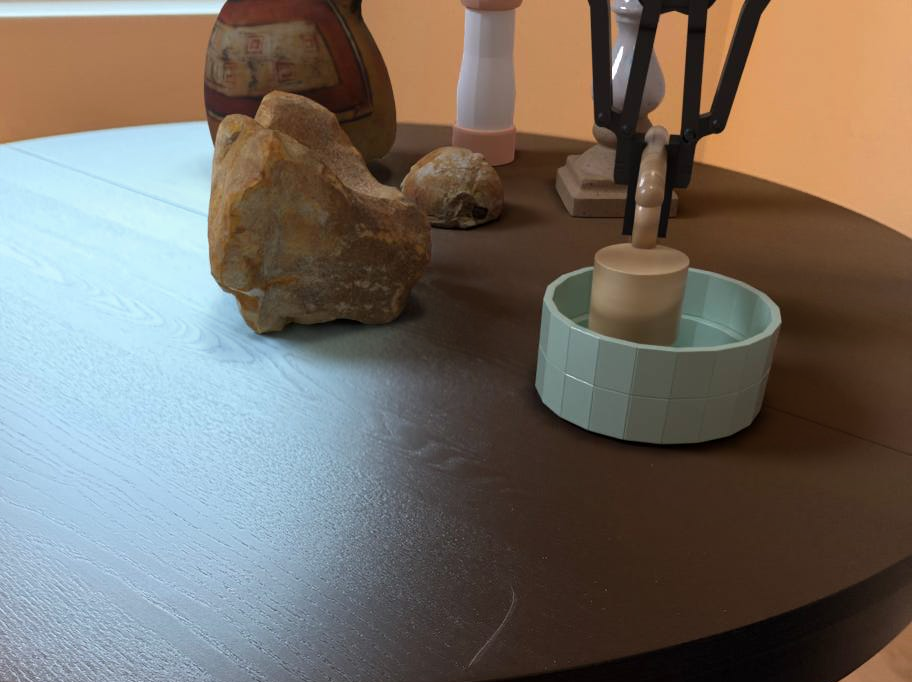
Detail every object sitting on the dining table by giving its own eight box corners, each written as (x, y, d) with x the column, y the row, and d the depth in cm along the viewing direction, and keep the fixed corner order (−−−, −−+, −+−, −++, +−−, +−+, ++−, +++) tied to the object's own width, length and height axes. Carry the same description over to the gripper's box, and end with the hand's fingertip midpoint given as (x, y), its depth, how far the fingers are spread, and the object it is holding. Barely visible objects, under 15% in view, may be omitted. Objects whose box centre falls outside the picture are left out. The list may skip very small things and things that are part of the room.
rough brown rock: (412, 384, 75) (436, 164, 66) (184, 355, 74) (176, 129, 65) (432, 280, 93) (452, 97, 84) (249, 256, 93) (250, 70, 84)
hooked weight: (677, 355, 66) (700, 210, 61) (583, 347, 67) (597, 205, 62) (681, 245, 83) (699, 124, 77) (606, 240, 84) (618, 120, 78)
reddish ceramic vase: (210, 151, 120) (176, -178, 101) (382, 148, 123) (380, -172, 104) (213, 202, 105) (175, -173, 86) (409, 196, 108) (413, -167, 89)
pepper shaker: (492, 147, 124) (503, -43, 112) (526, 162, 119) (541, -35, 107) (440, 153, 121) (445, -41, 109) (472, 169, 117) (481, -32, 105)
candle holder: (653, 186, 113) (693, -79, 98) (677, 217, 104) (725, -68, 89) (553, 185, 112) (578, -82, 97) (570, 217, 104) (601, -71, 89)
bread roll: (427, 268, 101) (450, 200, 95) (374, 197, 104) (393, 126, 98) (504, 250, 106) (532, 184, 99) (452, 182, 109) (475, 114, 102)
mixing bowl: (752, 368, 76) (774, 273, 72) (762, 467, 65) (789, 362, 60) (548, 347, 79) (557, 254, 74) (522, 440, 67) (531, 336, 62)
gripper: (818, -162, 65) (743, 223, 80) (582, -167, 67) (552, 209, 82) (829, -160, 59) (746, 254, 74) (571, -165, 62) (541, 239, 76)
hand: (644, 230), depth 78 cm, fingers closed on hooked weight, 2 cm apart
